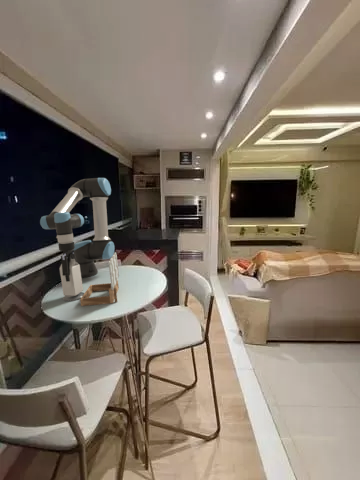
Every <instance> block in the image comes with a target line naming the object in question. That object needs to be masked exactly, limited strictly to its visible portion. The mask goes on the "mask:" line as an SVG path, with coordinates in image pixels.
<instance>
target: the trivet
mask: <svg viewBox="0 0 360 480" xmlns="http://www.w3.org/2000/svg"><path fill="white" fill-rule="evenodd" d="M84 293H85V292H83V291H82V292H80V293H79V294H77V295H76V296H64V295H63V297H62V300H63V301H64V302H75V301H78V300H80V299H81V298H82V296H83V295H84Z"/></svg>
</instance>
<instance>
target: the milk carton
mask: <svg viewBox="0 0 360 480" xmlns="http://www.w3.org/2000/svg"><path fill="white" fill-rule="evenodd" d="M62 274H63V273H62V263H61V264H60V266H59V275H60V279H61V280H60V281H61V286H62V287H61V288H62V294H63V297H64V296H76V295H77V294H79V293H80V292H83V291H84V288H83V286H84V285H83V278H81V272H80V265H79V264H78V263H77V262H76V261H75V259H71V262H70V274H71V280H72V287H66V280H65V276H63V275H62Z"/></svg>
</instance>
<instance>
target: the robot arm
mask: <svg viewBox="0 0 360 480" xmlns="http://www.w3.org/2000/svg"><path fill="white" fill-rule="evenodd" d="M111 194H112V188H111V184H110V181H109V180H108V179H107V178H106V177H93V178H83V179H80V180H78V181H77V182H75V183H74V184H72V185H71V186H70V188H68V190H67V193H66V194H65V196H64V197H63V199H62V200H60V201H59V203H58V204H57V205H56V206H55V208H54V209H52V211H51V212H50V214H48V215H43V216H41V218H40V220H39V224H40V226H41V227H42V229H44V230H56V231H55V232H56V237H55V238H56V239H57V243H58V244H57V245H58V250H59V251H60V252H62V255H61V256H60V259H61V264H62V273H63V274H62V275H63V276H65V280H66V287H72V280H71V274H70V262H71V259H75V261H76V262H77V263H78V264H79V265H80V272H81V279H83V278H88V277H93V276H96V275H97V274H98V273H99V271H98V268H97V265H96V263H95V261H96V260H104V261H105V260H110V259H111V258H112V256H113V255H114V253H115V247H116V246H115V243H114V242H113V241H112V239H111V238H110V237H109V230H108V228H109V227H108V213H107V212H108V211H107V201H108V199H109V196H111ZM86 197H87V198H89V200H91V201H92V210H93V211H92V213H93V230H94V238H93V239H92V240H91V239H87V240H82V241H79V242H78V241H77V242H76V243H75V242H74V239H75V238H74V233H73V229H77V228H81V227H83V225H84V224H85V218H84V217H83V215H81V214H80V213H73V214H71V213H70V212H71V211H72V209H73V208H75V206H76V205H77V203H79V201H81V200H83V198H86Z"/></svg>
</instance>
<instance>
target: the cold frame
mask: <svg viewBox="0 0 360 480" xmlns="http://www.w3.org/2000/svg"><path fill="white" fill-rule="evenodd" d="M108 260H109V261H108V263H107V264H108V270H109V271H108V272H109V279H110V282H108V283H99V284H98V283H97V284H90V285H89V286H88V288H87V289H86V290H85V292H83V293H84V295H83V296H82V298H81V299H79V300H80V307H85V306H97V305H107V304H109V305H110V304H114V303H118V294H117V293H118V291H119V289H120V288H119V277H120V275H119V265H118V256H117V252H114V254H113V256H112V257H111V258H110V259H108ZM103 291H108V294H109V295H104V296H103V295H101V296H93V297H92V296H91V295H92V293H93V292H103Z"/></svg>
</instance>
